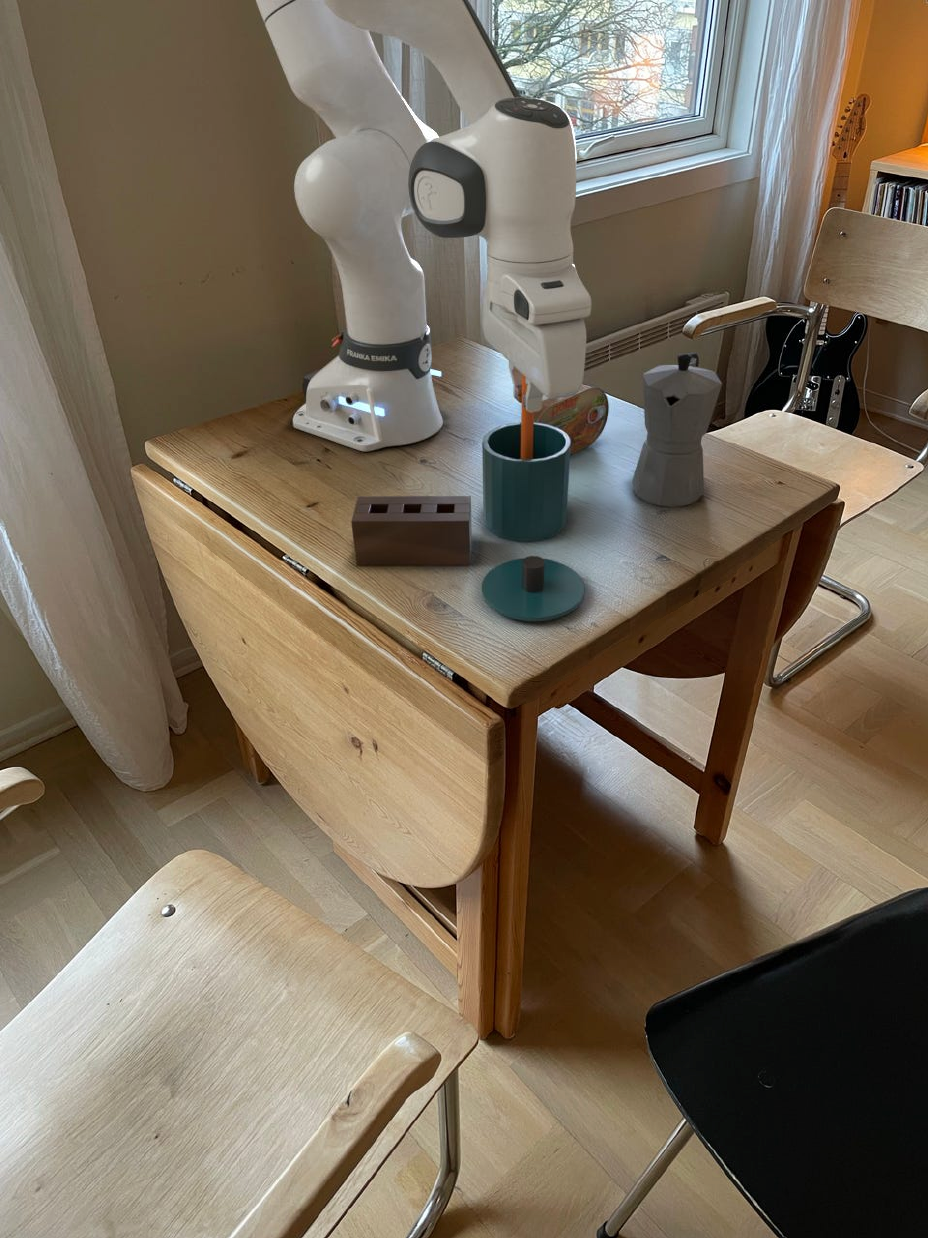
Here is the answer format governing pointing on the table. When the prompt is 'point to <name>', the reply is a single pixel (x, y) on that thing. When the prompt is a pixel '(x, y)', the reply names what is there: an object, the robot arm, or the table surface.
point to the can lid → (533, 589)
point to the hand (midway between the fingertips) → (527, 404)
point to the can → (525, 482)
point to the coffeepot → (675, 432)
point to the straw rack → (412, 530)
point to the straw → (526, 428)
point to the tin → (577, 416)
